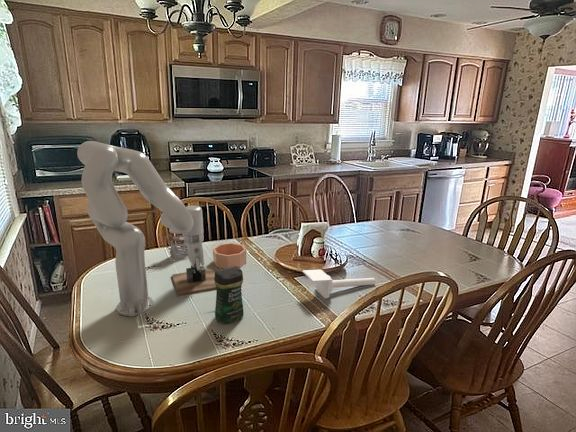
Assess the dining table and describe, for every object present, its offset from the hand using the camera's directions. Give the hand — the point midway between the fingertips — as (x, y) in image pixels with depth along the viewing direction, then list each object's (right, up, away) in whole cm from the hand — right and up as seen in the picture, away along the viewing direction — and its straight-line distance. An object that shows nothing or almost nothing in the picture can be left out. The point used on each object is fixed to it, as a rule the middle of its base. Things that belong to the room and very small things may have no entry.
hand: (196, 278), depth 157 cm
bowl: (+11, +4, +20) cm, 23 cm away
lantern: (-14, +6, +25) cm, 29 cm away
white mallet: (+59, -5, -2) cm, 59 cm away
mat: (0, -2, +1) cm, 2 cm away
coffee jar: (+17, -10, -22) cm, 30 cm away
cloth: (0, -2, +1) cm, 2 cm away
